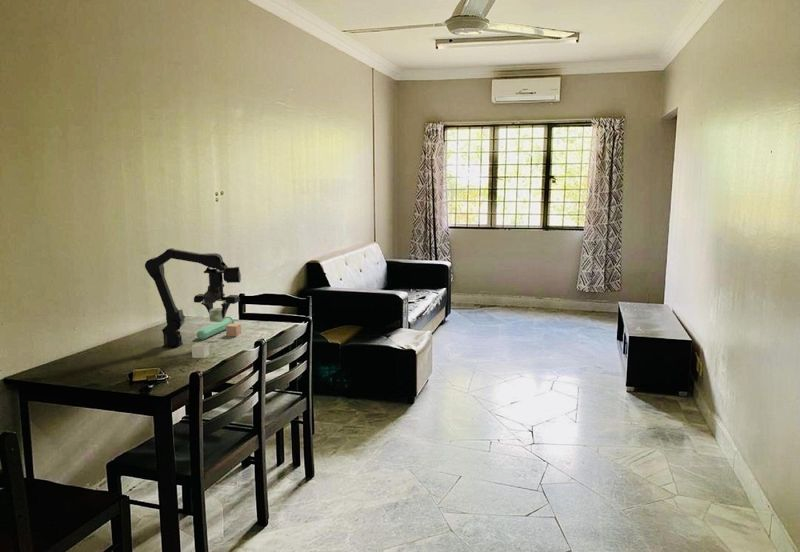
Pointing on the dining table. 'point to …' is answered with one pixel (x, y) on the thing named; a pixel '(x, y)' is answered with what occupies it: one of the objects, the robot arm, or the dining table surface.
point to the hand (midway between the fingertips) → (217, 318)
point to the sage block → (216, 315)
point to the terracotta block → (233, 329)
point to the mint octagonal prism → (214, 328)
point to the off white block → (200, 350)
